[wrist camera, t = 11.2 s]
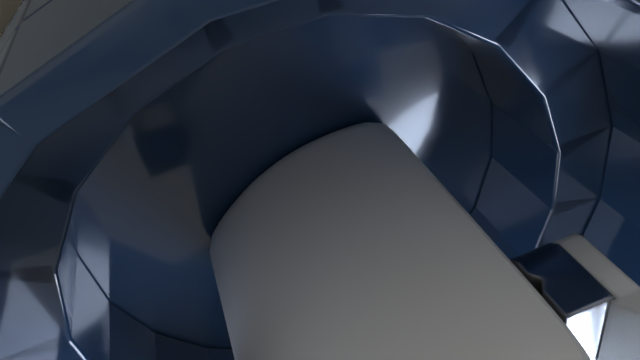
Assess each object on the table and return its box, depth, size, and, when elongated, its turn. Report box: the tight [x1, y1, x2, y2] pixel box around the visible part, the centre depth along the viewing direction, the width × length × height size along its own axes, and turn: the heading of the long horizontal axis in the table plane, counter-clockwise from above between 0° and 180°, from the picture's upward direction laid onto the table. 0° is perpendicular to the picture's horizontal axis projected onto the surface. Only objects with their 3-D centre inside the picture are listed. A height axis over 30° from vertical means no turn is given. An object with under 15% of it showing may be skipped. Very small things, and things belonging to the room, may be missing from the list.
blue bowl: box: [0, 0, 640, 360], centre depth 12 cm, size 15×15×6 cm
